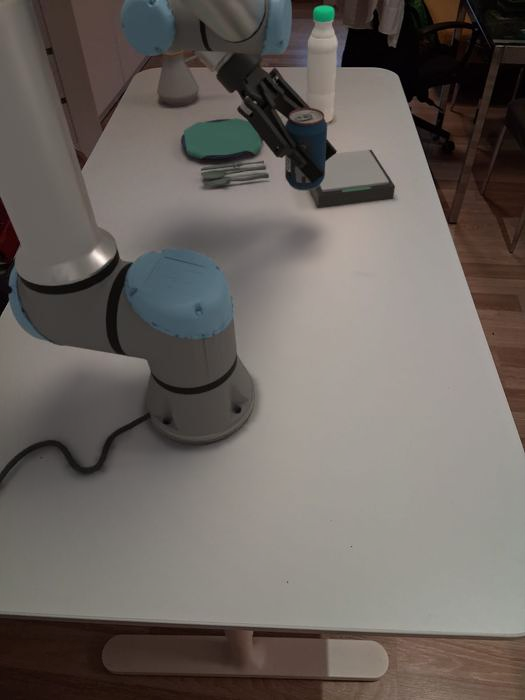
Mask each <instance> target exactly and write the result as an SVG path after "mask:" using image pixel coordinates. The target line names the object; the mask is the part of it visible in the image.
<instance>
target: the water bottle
mask: <svg viewBox="0 0 525 700" xmlns="http://www.w3.org/2000/svg"><path fill="white" fill-rule="evenodd" d="M335 13H336V12H335V8H334V7H333V6H330V5H318V6H316V7H314V9H313V12H312V18H313V22H314V27H313V29H312V30H311V33H310V35H309V38H308V40H307V57H306V58H307V59H306V88H307V89H306V101H305V102H306V104H307V105H308V106H309V107H310V108H314V109H318V110H320V111H322V112H323V114H324V119H325V121H326V123H327V124H328V123H330V122H331V121H332V120H333V119H334V115H335V106H334V104H335V99H336V98H335V97H336V95H335V88H336V87H335V86H336V79H337V63H338V62H337V60H338V59H337V58H338V55H337V54H338V53H337V50H338V46H339V42H338V38H337V36H336V33H335V32H336V31H335V29H334V27H333V22H334V21H335V20H334V19H335V15H336V14H335Z"/></svg>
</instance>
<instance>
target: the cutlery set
mask: <svg viewBox="0 0 525 700" xmlns="http://www.w3.org/2000/svg"><path fill="white" fill-rule="evenodd" d="M263 141H264V140H263V139H262V138H261V137H260V135H259V134H258V133H257V132H256V130H255V129H254V128H253V126H252V125H251V124H250V123H249V121H248V120H247V119H243V118H222V119H219V118H218V119H214V120H208V121H207V120H206V121H199V122H195V123H194V124H192V125H191V126H189V127H187V128H185V129H184V130H183V134H182V136H181V139H180V143H181V146H182V148H183V149H184V150H185V151H186V152H187V154H188V155H189V156H190V157H194V158H196V159H199V160H202V159H203V158H204V159H205V158H206V159H216V160H219V159H230V158H235V157H240V156H242V155H245V154H248V153H250V152H251V153H253V154H254V155H257V154H258V153H259V151H260V150H261V149H262V145H263V143H262V142H263ZM254 164H256V165H257V164H262V165H259V166H253V167H246V168H243V169H238V170H233V171H229V172H228V171H226V170H222V169H228V168H233V169H235V168H236V167H237V168H240V167H242V166H246V165H254ZM264 164H265V161H264V160H260V161H259V160H258V161H251V162H250V161H249V162H239V161H238V162H232V164H219V165H211V166H210V165H209V166H204V167H202V168H200V171H201V172H202V171H205V172H203V173H201V177H202V178H204V179H208V180H211V181H203V182H202V184H203V187H206V188H207V187H213V186H214V187H215V186H216V187H217V186H219V187H220V186H221V187H222V186H228V185H230V184H231V183H233V182H248V181H255V180H256V181H257V180H261V179H269V178H270V174H269V173H268V172H266V173H265V172H264V173H260V174H256V175H250V176H243V177H233V178H230V177H229V175H233V174H234V175H235V174H240V173H246V172H255V171H266V170H267V166H266V164H265V165H264ZM225 176H228V177H225Z"/></svg>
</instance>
